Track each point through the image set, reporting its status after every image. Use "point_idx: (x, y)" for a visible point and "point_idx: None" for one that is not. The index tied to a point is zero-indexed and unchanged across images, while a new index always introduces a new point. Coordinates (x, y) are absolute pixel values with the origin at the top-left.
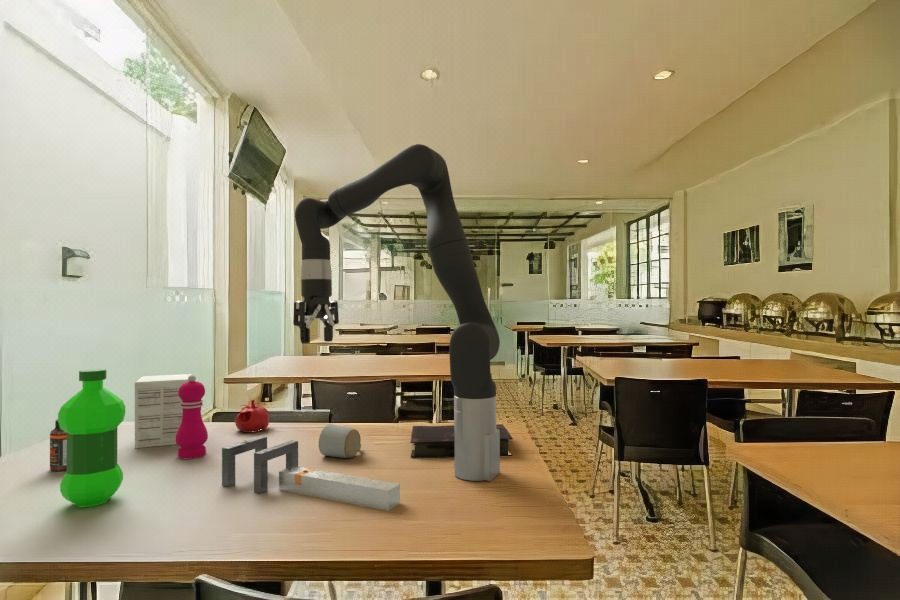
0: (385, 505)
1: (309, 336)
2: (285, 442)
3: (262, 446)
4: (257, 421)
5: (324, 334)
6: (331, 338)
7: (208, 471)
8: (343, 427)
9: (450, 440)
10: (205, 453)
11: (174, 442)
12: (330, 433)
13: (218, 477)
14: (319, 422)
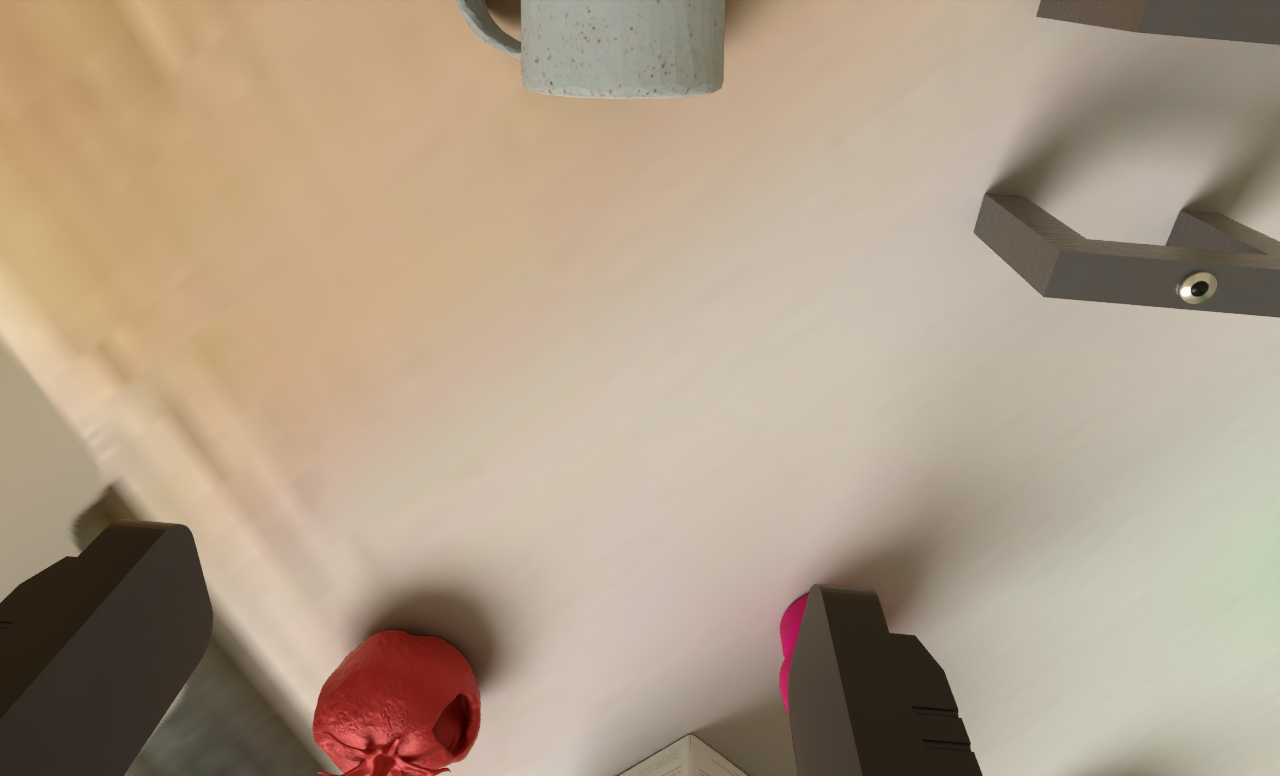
0: None
1: (860, 679)
2: (1199, 35)
3: (1074, 238)
4: (434, 665)
5: (138, 742)
6: (122, 548)
7: (1016, 435)
8: None
9: None
10: (804, 597)
11: (725, 764)
12: (702, 8)
13: (1090, 344)
14: (127, 502)
